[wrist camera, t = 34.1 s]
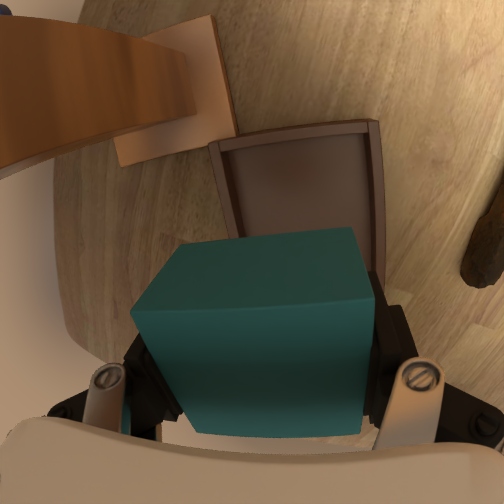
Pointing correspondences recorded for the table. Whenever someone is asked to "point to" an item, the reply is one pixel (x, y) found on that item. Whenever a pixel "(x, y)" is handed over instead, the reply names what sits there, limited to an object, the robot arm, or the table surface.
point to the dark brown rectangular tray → (306, 183)
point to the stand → (109, 90)
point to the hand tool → (486, 247)
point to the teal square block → (264, 333)
